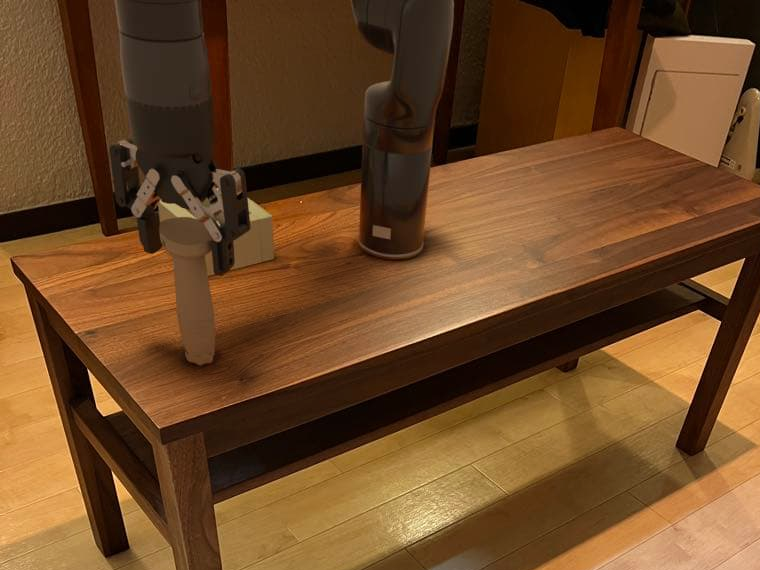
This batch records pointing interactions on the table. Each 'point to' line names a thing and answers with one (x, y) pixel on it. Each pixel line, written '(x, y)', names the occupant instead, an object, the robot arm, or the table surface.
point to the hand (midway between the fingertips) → (187, 261)
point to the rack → (246, 247)
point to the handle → (191, 285)
